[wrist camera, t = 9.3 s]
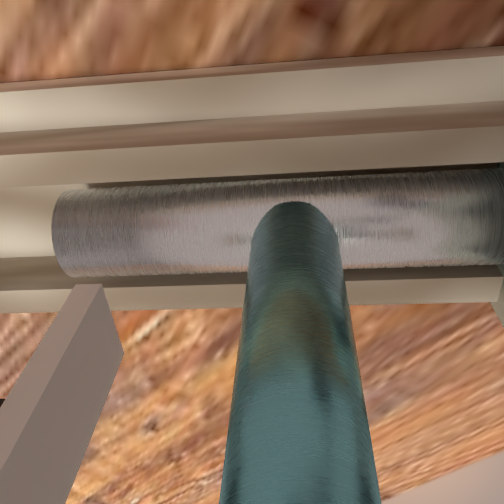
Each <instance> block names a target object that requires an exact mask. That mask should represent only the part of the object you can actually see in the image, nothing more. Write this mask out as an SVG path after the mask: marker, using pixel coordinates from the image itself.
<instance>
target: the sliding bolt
mask: <svg viewBox="0 0 504 504" xmlns="http://www.w3.org/2000/svg"><path fill="white" fill-rule="evenodd" d="M51 233H52V243H53V248H54V252H55V256H56V259H57V261H58V263H59V265H60V267H61V268H62V270H63V271H64V272H65V273H66V274H67V275H68V276H70V277H74V278H76V277H109V276H141V275H174V274H207V273H239V272H247V281H246V289H245V297H244V305H243V313H242V321H241V329H240V337H239V346H238V354H237V362H236V370H235V378H234V386H233V394H232V403H231V411H230V419H229V427H228V435H227V443H226V451H225V460H224V468H223V476H222V484H221V492H220V500H219V504H381V498H380V492H379V486H378V480H377V474H376V468H375V461H374V455H373V449H372V443H371V437H370V431H369V425H368V419H367V412H366V406H365V400H364V394H363V388H362V382H361V376H360V369H359V363H358V357H357V351H356V345H355V339H354V333H353V327H352V320H351V314H350V308H349V302H348V296H347V290H346V284H345V278H344V271H343V269H370V268H402V267H435V266H468V265H500V264H504V168H490V169H470V170H450V171H430V172H410V173H390V174H370V175H350V176H330V177H310V178H290V179H270V180H250V181H230V182H210V183H190V184H170V185H151V186H131V187H111V188H91V189H71V190H66V191H64V192H63V193H62V194H61V195H60V196H59V197H58V199H57V201H56V204H55V207H54V210H53V215H52V225H51Z"/></svg>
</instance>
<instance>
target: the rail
mask: <svg viewBox="0 0 504 504" xmlns="http://www.w3.org/2000/svg"><path fill="white" fill-rule="evenodd" d="M498 162H504V46H494V47H480V48H467V49H453V50H440V51H427V52H413V53H400V54H386V55H373V56H360V57H346V58H333V59H319V60H306V61H293V62H279V63H266V64H252V65H239V66H226V67H212V68H199V69H185V70H172V71H159V72H145V73H132V74H118V75H105V76H92V77H78V78H65V79H51V80H38V81H25V82H11V83H0V313H35V312H59V311H60V309H61V307H62V306H63V304H64V303H65V301H66V299H67V298H68V296H69V294H70V293H71V291H72V290H73V288H74V286H75V285H76V284H102V286H103V290H104V293H105V296H106V299H107V302H108V305H109V308H110V311H122V310H165V309H208V308H243V305H244V297H245V289H246V281H247V272H239V273H207V274H174V275H141V276H109V277H76V278H74V277H70V276H68V275H67V274H66V273H65V272H64V271H63V270H62V268H61V267H60V265H59V263H58V261H57V259H56V256H55V252H54V248H53V243H52V233H51V225H52V215H53V210H54V207H55V204H56V201H57V199H58V197H59V196H60V195H61V194H62V193H63V192H64V191H66V190H71V189H91V188H111V187H131V186H151V185H170V184H190V183H210V182H230V181H250V180H270V179H290V178H310V177H330V176H350V175H370V174H390V173H410V172H430V171H450V170H470V169H490V168H497V164H498ZM343 271H344V278H345V284H346V290H347V296H348V302H349V305H381V304H424V303H467V302H497V301H498V298H499V294H500V290H501V286H502V282H503V278H504V276H503V275H502V273H501V271H500V270H499V268H498V267H497V265H468V266H435V267H402V268H370V269H343Z"/></svg>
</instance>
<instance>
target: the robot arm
mask: <svg viewBox="0 0 504 504" xmlns="http://www.w3.org/2000/svg"><path fill="white" fill-rule="evenodd" d="M123 355H124V351H123V348H122V345H121V342H120V339H119V336H118V333H117V330H116V327H115V324H114V321H113V317H112V314H111V311H110V308H109V305H108V302H107V299H106V296H105V293H104V290H103V286H102V284H76V285H75V286H74V288H73V290H72V291H71V293H70V294H69V296H68V298H67V299H66V301H65V303H64V304H63V306H62V307H61V309H60V311H59V312H58V314H57V316H56V317H55V319H54V321H53V322H52V324H51V325H50V327H49V329H48V330H47V332H46V334H45V335H44V337H43V339H42V340H41V342H40V343H39V345H38V347H37V348H36V350H35V352H34V353H33V355H32V357H31V358H30V360H29V361H28V363H27V365H26V366H25V368H24V370H23V371H22V373H21V374H20V376H19V378H18V379H17V381H16V383H15V384H14V386H13V388H12V389H11V391H10V392H9V394H8V396H7V397H6V399H0V504H65V503H66V500H67V498H68V495H69V492H70V490H71V487H72V485H73V482H74V480H75V477H76V475H77V472H78V470H79V467H80V465H81V462H82V459H83V457H84V454H85V452H86V449H87V447H88V444H89V442H90V439H91V437H92V434H93V432H94V429H95V427H96V424H97V421H98V419H99V416H100V414H101V411H102V409H103V406H104V404H105V401H106V399H107V396H108V394H109V391H110V388H111V386H112V383H113V381H114V378H115V376H116V373H117V371H118V368H119V366H120V363H121V361H122V358H123Z"/></svg>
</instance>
